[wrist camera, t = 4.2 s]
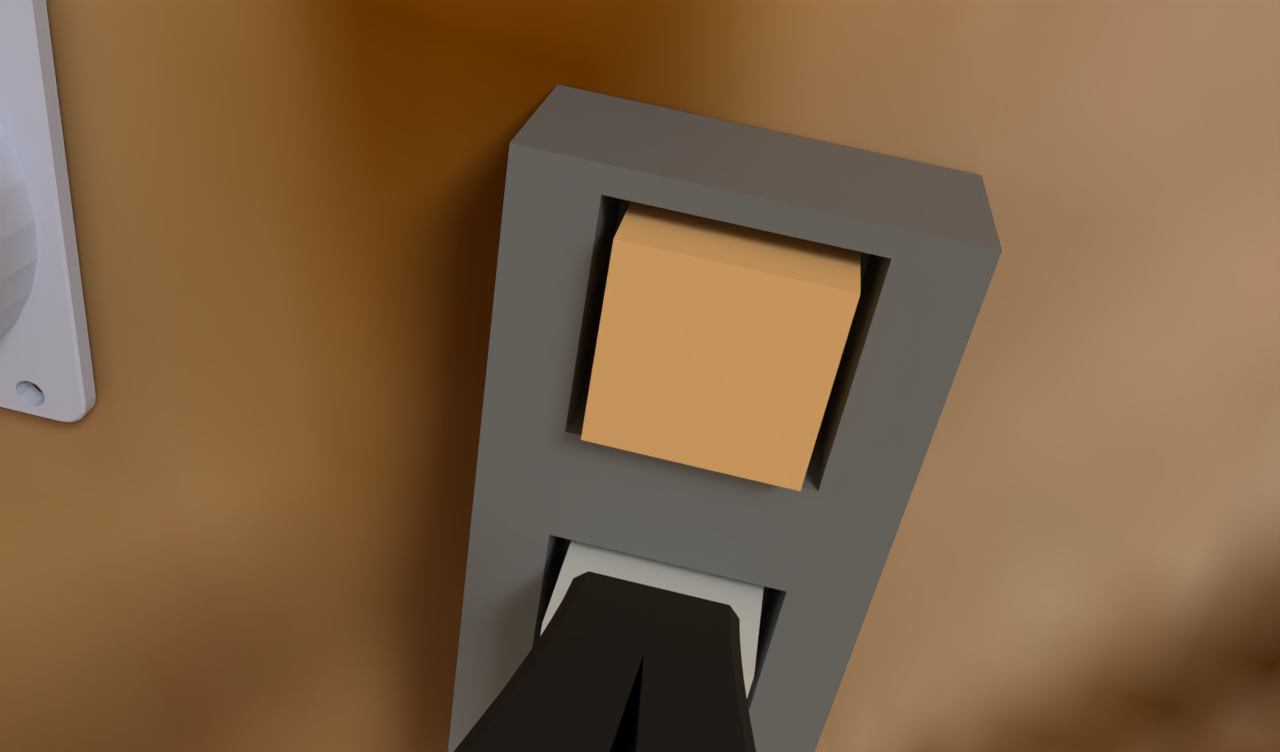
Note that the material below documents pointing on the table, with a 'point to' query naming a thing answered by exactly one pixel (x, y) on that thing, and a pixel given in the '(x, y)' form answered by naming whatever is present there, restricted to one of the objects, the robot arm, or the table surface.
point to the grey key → (671, 578)
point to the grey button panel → (687, 495)
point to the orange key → (719, 344)
